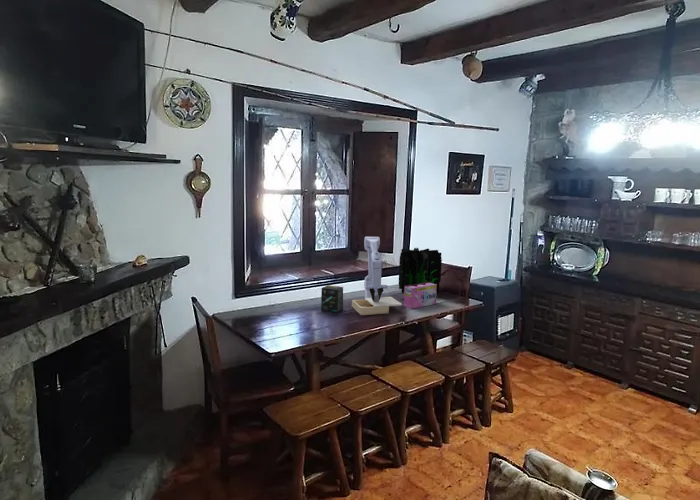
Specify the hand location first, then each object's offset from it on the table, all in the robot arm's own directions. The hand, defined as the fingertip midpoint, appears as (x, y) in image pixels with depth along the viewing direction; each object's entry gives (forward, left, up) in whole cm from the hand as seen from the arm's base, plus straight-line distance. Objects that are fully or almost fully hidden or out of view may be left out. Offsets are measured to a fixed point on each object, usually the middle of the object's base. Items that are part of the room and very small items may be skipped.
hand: (375, 299), depth 293 cm
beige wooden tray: (0, -4, -6) cm, 7 cm away
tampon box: (-6, -27, -7) cm, 28 cm away
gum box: (-4, +33, -7) cm, 34 cm away
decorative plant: (-39, +49, -7) cm, 63 cm away
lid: (0, +5, -2) cm, 5 cm away
